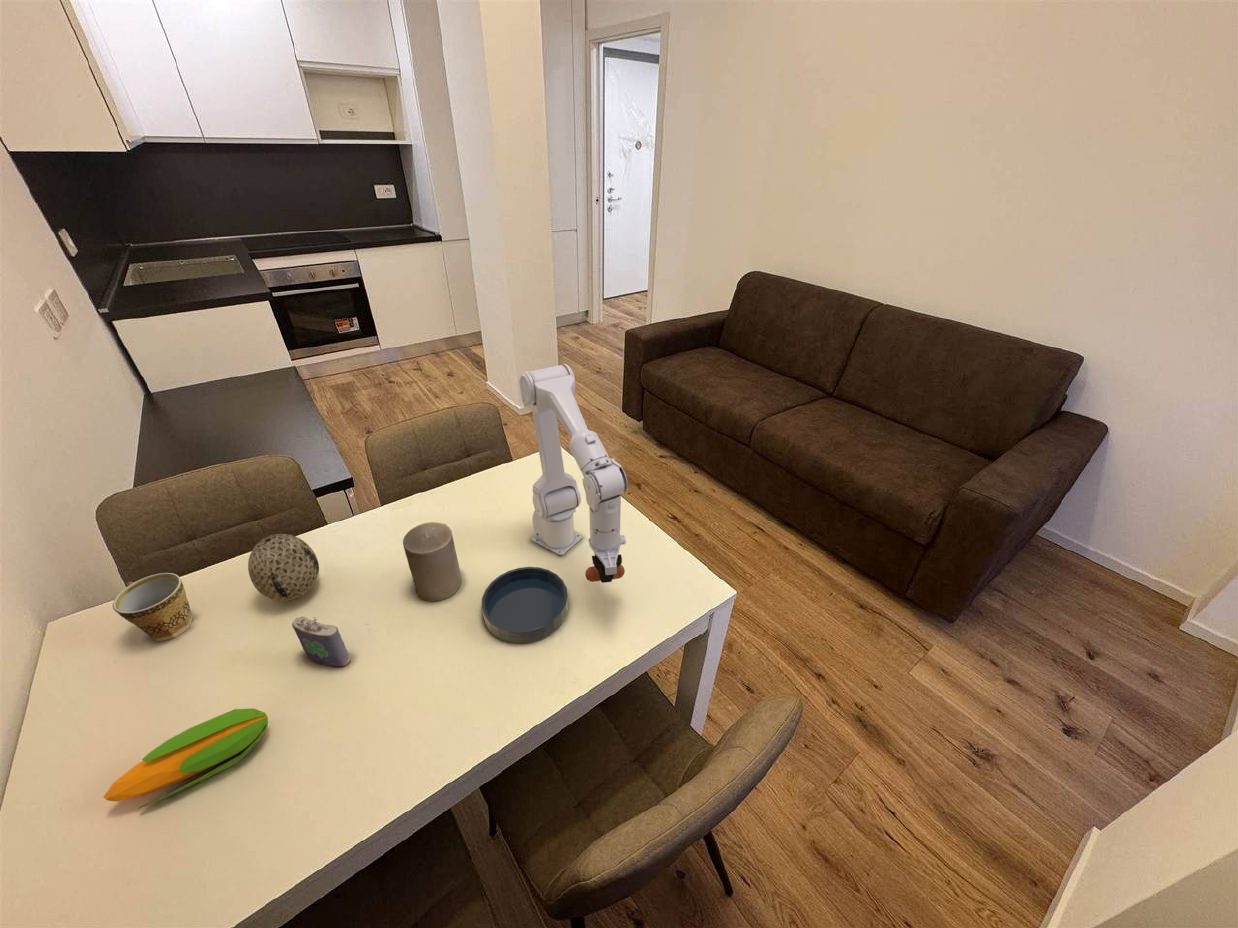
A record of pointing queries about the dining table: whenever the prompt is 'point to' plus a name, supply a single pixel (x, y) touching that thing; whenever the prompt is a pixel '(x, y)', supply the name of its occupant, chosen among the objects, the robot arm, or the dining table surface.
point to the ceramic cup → (156, 606)
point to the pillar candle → (432, 561)
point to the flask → (321, 642)
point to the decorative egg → (283, 567)
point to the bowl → (525, 605)
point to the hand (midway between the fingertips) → (605, 574)
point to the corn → (192, 754)
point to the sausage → (593, 573)
